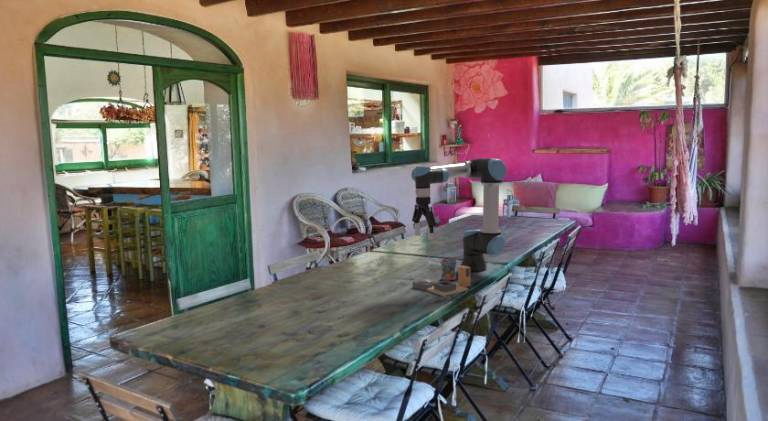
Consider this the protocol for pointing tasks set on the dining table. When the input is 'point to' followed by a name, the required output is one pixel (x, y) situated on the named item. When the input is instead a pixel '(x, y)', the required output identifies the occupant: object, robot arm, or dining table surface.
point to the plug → (464, 276)
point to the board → (446, 288)
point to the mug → (448, 269)
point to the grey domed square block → (424, 283)
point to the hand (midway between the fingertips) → (424, 237)
